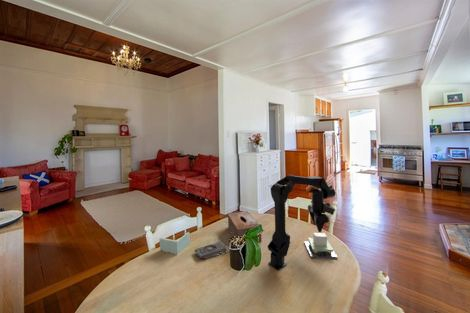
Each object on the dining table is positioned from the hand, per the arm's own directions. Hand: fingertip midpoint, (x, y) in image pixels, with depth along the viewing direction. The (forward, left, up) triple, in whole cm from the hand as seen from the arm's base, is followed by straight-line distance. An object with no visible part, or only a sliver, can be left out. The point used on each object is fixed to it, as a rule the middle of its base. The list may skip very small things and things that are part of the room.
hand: (317, 228), depth 115 cm
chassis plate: (+1, -1, -12) cm, 12 cm away
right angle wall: (-59, +53, -13) cm, 81 cm away
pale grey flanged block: (+1, -1, -9) cm, 9 cm away
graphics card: (-46, +36, -13) cm, 60 cm away
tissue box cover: (-19, +41, -13) cm, 47 cm away
